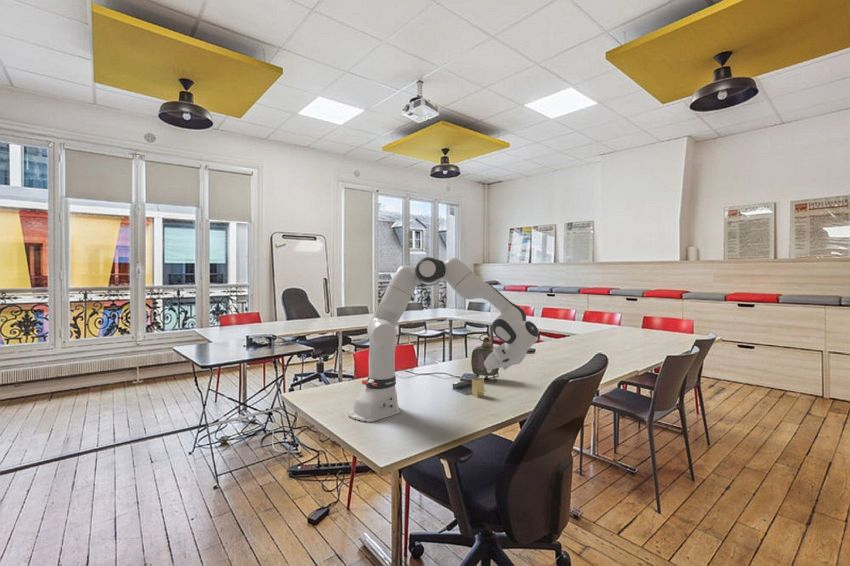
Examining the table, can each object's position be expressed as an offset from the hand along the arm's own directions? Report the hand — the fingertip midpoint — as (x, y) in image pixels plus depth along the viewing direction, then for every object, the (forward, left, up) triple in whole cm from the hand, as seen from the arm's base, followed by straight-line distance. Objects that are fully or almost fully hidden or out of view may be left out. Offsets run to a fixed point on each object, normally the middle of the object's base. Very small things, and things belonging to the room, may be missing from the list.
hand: (496, 369), depth 176 cm
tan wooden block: (+4, +12, -15) cm, 19 cm away
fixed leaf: (+9, +20, -15) cm, 26 cm away
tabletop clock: (+31, +21, -15) cm, 40 cm away
